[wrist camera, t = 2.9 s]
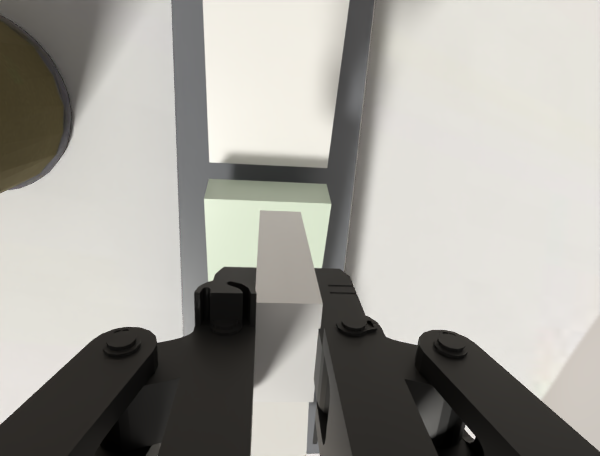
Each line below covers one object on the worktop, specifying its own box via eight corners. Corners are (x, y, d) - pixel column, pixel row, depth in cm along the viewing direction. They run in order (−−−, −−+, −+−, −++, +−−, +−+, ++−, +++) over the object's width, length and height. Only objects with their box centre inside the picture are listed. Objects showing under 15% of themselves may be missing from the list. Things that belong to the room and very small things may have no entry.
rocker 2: (211, 457, 27) (207, 478, 25) (214, 324, 26) (210, 336, 24) (301, 454, 28) (305, 475, 26) (308, 325, 27) (311, 336, 25)
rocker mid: (214, 307, 26) (210, 331, 24) (208, 178, 21) (203, 198, 19) (309, 308, 26) (312, 332, 25) (326, 183, 21) (331, 203, 20)
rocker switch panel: (194, 419, 33) (184, 469, 29) (181, -84, 22) (162, -122, 18) (320, 417, 34) (328, 465, 30) (371, -64, 23) (396, -95, 19)
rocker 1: (213, 146, 22) (209, 162, 21) (206, -54, 17) (200, -54, 16) (322, 152, 23) (327, 168, 21) (346, -40, 18) (354, -38, 16)
